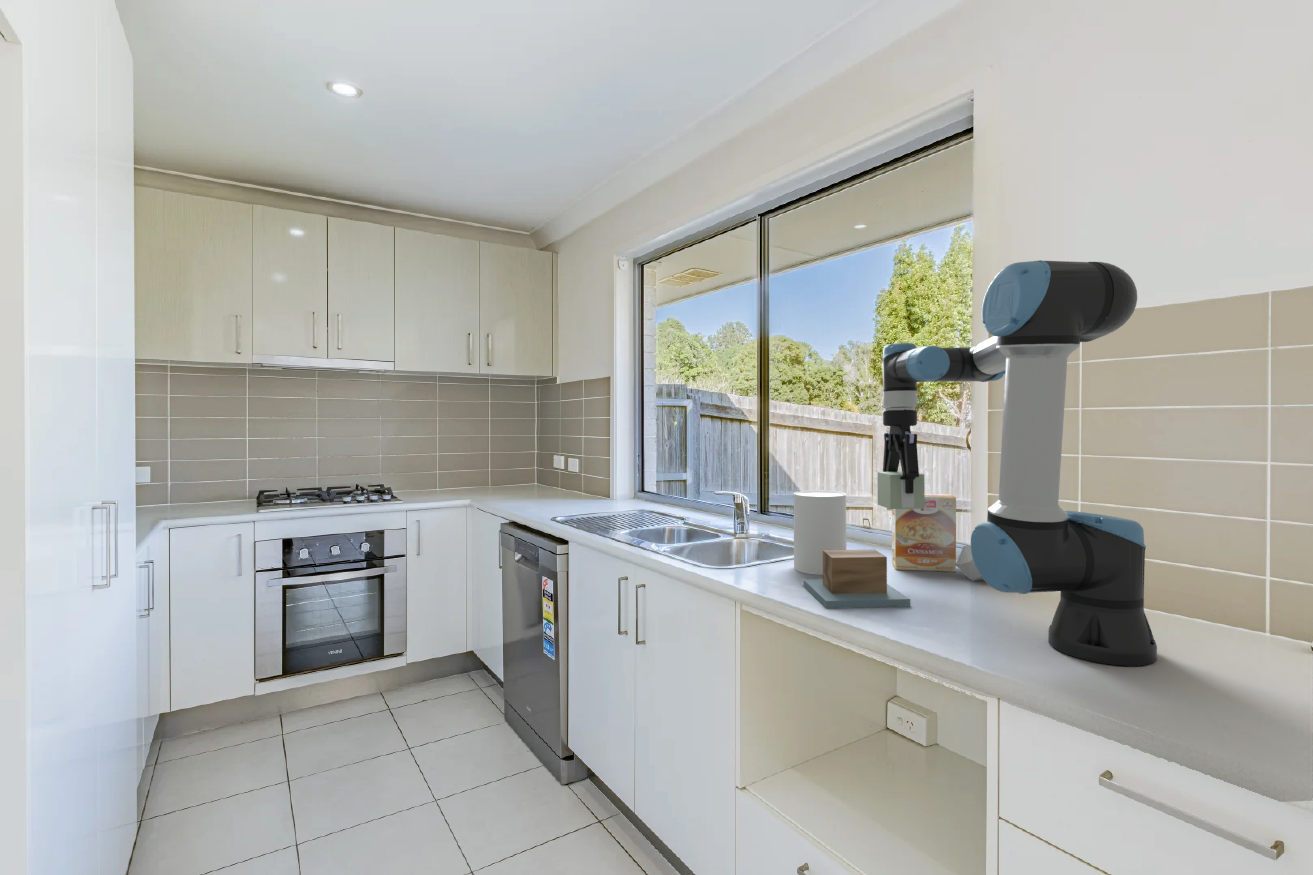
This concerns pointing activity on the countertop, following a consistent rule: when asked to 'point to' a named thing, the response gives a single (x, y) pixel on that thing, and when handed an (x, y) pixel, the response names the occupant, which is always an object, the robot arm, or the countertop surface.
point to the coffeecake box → (925, 535)
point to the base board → (854, 597)
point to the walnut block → (854, 571)
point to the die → (968, 564)
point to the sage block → (898, 490)
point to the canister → (817, 527)
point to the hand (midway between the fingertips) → (900, 504)
